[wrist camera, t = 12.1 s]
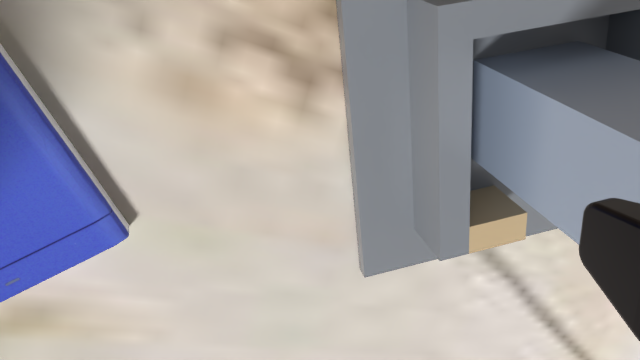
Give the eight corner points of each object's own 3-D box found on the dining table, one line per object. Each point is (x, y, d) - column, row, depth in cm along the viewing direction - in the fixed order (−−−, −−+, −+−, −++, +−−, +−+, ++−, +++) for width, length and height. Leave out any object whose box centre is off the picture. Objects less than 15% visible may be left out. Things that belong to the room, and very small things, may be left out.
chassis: (360, 269, 25) (385, 313, 22) (331, -55, 19) (360, -47, 16) (639, 199, 27) (691, 230, 24) (694, -106, 21) (770, -107, 18)
